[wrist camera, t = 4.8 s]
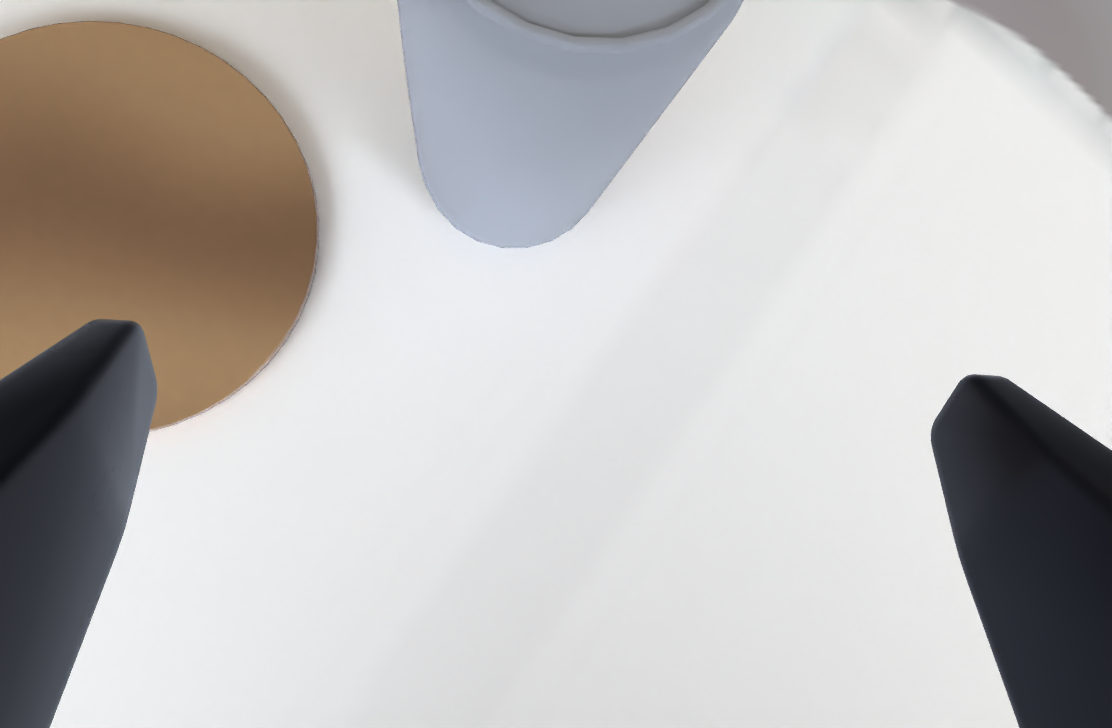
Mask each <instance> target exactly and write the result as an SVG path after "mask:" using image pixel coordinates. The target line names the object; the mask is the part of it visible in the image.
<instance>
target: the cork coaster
mask: <svg viewBox="0 0 1112 728" xmlns="http://www.w3.org/2000/svg"><path fill="white" fill-rule="evenodd" d="M318 249H319V216H318V208H317V201H316V194H315V190H314V187H313V183H312V180H311V176H310V172H309V169H308V166H307V164H306V162H305V159H304V157H303V155H302V152H301V150H300V148H299V145H298V143H297V142H296V140H295V138H294V137H293V135H292V133H291V132H290V130H289V128H288V127H287V125H286V123H285V121H284V120H283V118H282V117H281V115H280V114H279V113H278V112H277V110H276V109H275V108H274V107H273V105H272V104H271V103H270V102H269V100H268V99H267V98H266V96H265V95H264V94H262V93H261V92H260V91H259V90H258V89H257V88H256V87H255V86H254V85H253V84H252V83H251V82H250V81H249V80H248V79H247V78H246V77H245V76H244V75H242V74H241V73H240V72H238V71H237V70H236V69H234V68H233V67H232V66H231V65H229V64H228V63H227V62H225V61H224V60H222V59H221V58H219V57H217V56H215V55H214V54H212V53H210V52H209V51H207V50H205V49H203V48H202V47H200V46H198V45H195V44H193V43H191V42H188V41H186V40H184V39H181V38H179V37H177V36H174V35H171V34H168V33H165V32H161V31H158V30H154V29H151V28H148V27H142V26H136V25H130V24H124V23H119V22H99V21H82V22H69V23H58V24H53V25H48V26H43V27H38V28H33V29H29V30H26V31H23V32H20V33H17V34H14V35H11V36H8V37H5V38H2V39H0V380H1V379H2V378H4V377H5V376H7V375H8V374H10V373H11V372H13V371H14V370H16V369H17V368H19V367H21V366H22V365H24V364H25V363H27V362H28V361H30V360H31V359H33V358H34V357H36V356H37V355H39V354H40V353H42V352H43V351H45V350H47V349H48V348H50V347H51V346H53V345H54V344H56V343H57V342H59V341H60V340H62V339H63V338H65V337H66V336H68V335H70V334H71V333H73V332H74V331H76V330H77V329H79V328H80V327H82V326H83V325H85V324H86V323H88V322H90V321H92V320H95V319H114V320H130V321H134V322H136V323H138V324H139V325H140V326H141V327H142V329H143V331H144V334H145V338H146V341H147V345H148V349H149V353H150V357H151V360H152V364H153V368H154V372H155V376H156V380H157V400H156V405H155V409H154V413H153V417H152V421H151V426H150V430H149V431H153V430H157V429H160V428H164V427H168V426H171V425H175V424H178V423H180V422H182V421H185V420H187V419H190V418H192V417H195V416H197V415H199V414H202V413H204V412H205V411H207V410H209V409H211V408H212V407H214V406H216V405H218V404H220V403H221V402H223V401H225V400H226V399H228V398H229V397H230V396H232V395H233V394H235V393H236V392H237V391H239V390H240V389H241V388H243V387H244V386H245V385H247V384H248V383H249V382H250V381H251V380H252V379H253V378H254V377H255V376H256V375H257V374H258V373H259V372H260V371H261V370H262V369H263V368H265V367H266V366H267V365H268V363H269V362H270V361H271V360H272V358H273V357H274V356H275V355H276V353H277V352H278V351H279V350H280V348H281V347H282V346H283V345H284V343H285V342H286V340H287V338H288V337H289V335H290V333H291V332H292V330H293V328H294V327H295V325H296V323H297V322H298V320H299V317H300V315H301V313H302V310H303V308H304V306H305V303H306V301H307V299H308V296H309V293H310V289H311V286H312V282H313V278H314V275H315V271H316V264H317V257H318Z"/></svg>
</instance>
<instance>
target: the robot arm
mask: <svg viewBox="0 0 1112 728" xmlns="http://www.w3.org/2000/svg"><path fill="white" fill-rule="evenodd" d="M156 400H157V380H156V376H155V372H154V368H153V364H152V360H151V357H150V353H149V349H148V345H147V341H146V338H145V334H144V331H143V329H142V327H141V326H140V325H139V324H138V323H136V322H134V321H130V320H114V319H95V320H92V321H90V322H88V323H86V324H85V325H83V326H82V327H80V328H79V329H77V330H76V331H74V332H73V333H71V334H70V335H68V336H66V337H65V338H63V339H62V340H60V341H59V342H57V343H56V344H54V345H53V346H51V347H50V348H48V349H47V350H45V351H43V352H42V353H40V354H39V355H37V356H36V357H34V358H33V359H31V360H30V361H28V362H27V363H25V364H24V365H22V366H21V367H19V368H17V369H16V370H14V371H13V372H11V373H10V374H8V375H7V376H5V377H4V378H2V379H1V380H0V728H50V725H51V723H52V720H53V717H54V715H55V712H56V710H57V707H58V704H59V702H60V699H61V696H62V694H63V691H64V689H65V686H66V683H67V681H68V678H69V676H70V673H71V670H72V668H73V665H74V663H75V660H76V657H77V655H78V652H79V650H80V647H81V644H82V642H83V639H84V636H85V634H86V631H87V629H88V626H89V623H90V621H91V618H92V616H93V613H94V610H95V608H96V605H97V603H98V600H99V597H100V595H101V592H102V590H103V587H104V584H105V582H106V579H107V576H108V574H109V571H110V569H111V566H112V563H113V561H114V558H115V556H116V553H117V550H118V547H119V544H120V542H121V539H122V536H123V533H124V530H125V526H126V523H127V519H128V515H129V511H130V508H131V503H132V499H133V495H134V491H135V487H136V483H137V479H138V475H139V471H140V467H141V462H142V458H143V454H144V450H145V446H146V442H147V438H148V434H149V430H150V426H151V421H152V417H153V413H154V409H155V405H156ZM931 444H932V448H933V452H934V457H935V461H936V465H937V469H938V473H939V478H940V482H941V486H942V490H943V494H944V498H945V503H946V507H947V511H948V515H949V519H950V523H951V528H952V532H953V536H954V540H955V544H956V547H957V551H958V555H959V558H960V561H961V564H962V567H963V570H964V573H965V577H966V579H967V582H968V585H969V588H970V591H971V593H972V596H973V599H974V602H975V605H976V607H977V610H978V613H979V616H980V619H981V621H982V624H983V627H984V630H985V633H986V635H987V638H988V641H989V644H990V647H991V649H992V652H993V655H994V658H995V661H996V663H997V666H998V669H999V672H1000V674H1001V677H1002V680H1003V683H1004V686H1005V688H1006V691H1007V694H1008V697H1009V700H1010V702H1011V705H1012V708H1013V711H1014V714H1015V716H1016V719H1017V722H1018V725H1019V728H1112V451H1111V450H1110V449H1109V448H1107V447H1106V446H1104V445H1103V444H1101V443H1100V442H1098V441H1097V440H1095V439H1094V438H1093V437H1091V436H1090V435H1088V434H1087V433H1085V432H1084V431H1082V430H1081V429H1079V428H1078V427H1077V426H1075V425H1074V424H1072V423H1071V422H1069V421H1068V420H1066V419H1065V418H1064V417H1062V416H1061V415H1059V414H1058V413H1056V412H1055V411H1053V410H1052V409H1050V408H1049V407H1048V406H1046V405H1045V404H1043V403H1042V402H1040V401H1039V400H1037V399H1036V398H1034V397H1033V396H1032V395H1030V394H1029V393H1027V392H1026V391H1024V390H1023V389H1021V388H1020V387H1018V386H1017V385H1016V384H1014V383H1013V382H1011V381H1010V380H1008V379H1006V378H1004V377H1001V376H991V375H976V374H974V375H968V376H966V377H965V378H963V379H962V380H961V381H960V382H959V383H958V385H957V386H956V388H955V389H954V391H953V392H952V394H951V396H950V397H949V399H948V400H947V402H946V403H945V405H944V407H943V408H942V410H941V411H940V413H939V414H938V416H937V418H936V419H935V421H934V423H933V426H932V430H931Z"/></svg>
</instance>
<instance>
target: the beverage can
mask: <svg viewBox="0 0 1112 728" xmlns="http://www.w3.org/2000/svg"><path fill="white" fill-rule="evenodd" d="M397 2H398V11H399V19H400V28H401V36H402V45H403V53H404V61H405V69H406V77H407V85H408V92H409V99H410V106H411V112H412V119H413V126H414V132H415V139H416V146H417V154H418V161H419V165H420V169H421V172H422V175H423V179H424V182H425V185H426V188H427V189H428V191H429V193H430V195H431V197H432V199H433V200H434V202H435V204H436V206H437V208H438V210H439V211H440V212H441V213H442V214H443V215H444V216H445V217H446V218H447V219H448V220H449V222H450V223H451V224H452V225H453V226H454V227H455V228H456V229H457V230H459V231H461V232H463V233H464V234H466V235H468V236H469V237H471V238H473V239H475V240H476V241H478V242H482V243H486V244H490V245H494V246H497V247H501V248H528V247H531V246H535V245H539V244H542V243H546V242H550V241H552V240H554V239H555V238H557V237H559V236H560V235H562V234H564V233H565V232H567V231H569V230H570V229H572V228H573V227H574V226H575V225H576V224H577V223H578V222H579V221H580V220H581V219H582V218H583V217H584V216H585V215H586V213H587V212H588V211H589V210H590V209H591V207H592V206H593V205H594V203H595V202H596V201H597V199H598V198H599V197H600V195H601V194H602V193H603V191H604V190H605V189H606V188H607V186H608V185H609V184H610V182H611V181H612V180H613V178H614V177H615V176H616V174H617V173H618V172H619V170H620V169H621V168H622V166H623V165H624V164H625V162H626V161H627V160H628V158H629V157H630V156H631V154H632V153H633V152H634V150H635V149H636V148H637V146H638V145H639V144H640V142H641V141H642V140H643V138H644V137H645V136H646V134H647V133H648V132H649V130H650V129H651V128H652V126H653V125H654V124H655V122H656V121H657V120H658V118H659V117H660V116H661V114H662V113H663V112H664V110H665V109H666V108H667V106H668V105H669V104H670V102H671V101H672V100H673V98H674V97H675V96H676V95H677V93H678V92H679V91H680V89H681V88H682V87H683V85H684V84H685V83H686V81H687V80H688V79H689V77H690V76H691V75H692V73H693V72H694V71H695V69H696V68H697V67H698V65H699V64H700V63H701V61H702V60H703V59H704V57H705V56H706V55H707V53H708V52H709V51H710V49H711V48H712V47H713V45H714V44H715V43H716V41H717V40H718V39H719V37H720V36H721V35H722V33H723V32H724V31H725V29H726V28H727V27H728V25H729V24H730V23H731V21H732V20H733V18H734V17H735V15H736V13H737V11H738V10H739V8H740V6H741V4H742V2H743V0H397Z"/></svg>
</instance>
